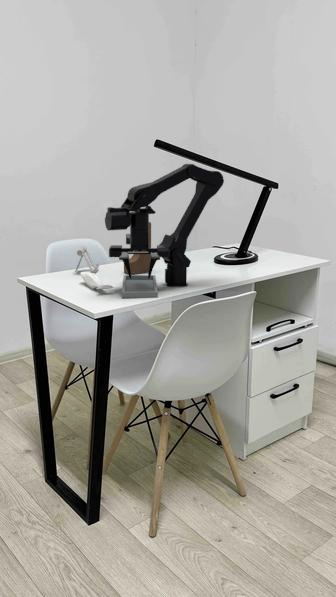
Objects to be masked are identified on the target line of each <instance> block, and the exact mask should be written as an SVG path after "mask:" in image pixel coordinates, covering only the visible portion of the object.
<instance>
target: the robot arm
mask: <svg viewBox="0 0 336 597" xmlns="http://www.w3.org/2000/svg"><path fill="white" fill-rule="evenodd" d="M188 179H190V180H191V181H194V182H195V190H194V195H193V196H192V199H191V201H190V202H189V204H188V206H187V207H186V210H185V211H184V213H183V215H182V217H181V219H180V221H179V223H178V224H177V226H176V227H175V230H174V231H173V232H172V233H171V234H170V235H169V234H165V235H164V236H163V239H162V241H161V242H160V243H159V244H158V245H156V247H151V248H149V222H150V219H149V218H150V215H154V214H156V210H154V209H153V208H152V206H151V205H150V204H151V203H153V202H155V200H156V199H157V198H158V197H159V196H160V195H162V194H163V193H165V192H166V191H169V190H170V189H172V188H174V187H176V186H178V185H180V184H181V183H184V182H185V181H187V180H188ZM224 181H225V179H224V176H223V174H222V173H221V172H220V171H218V170H217V171H216V170H208V169H205V168H202V167H200V166H197V165H195V164H193V163H185V164H183V165H182V166H180V167H178V168H176V169H175V170H172V171H171V172H169V173H167V174H165V175H163V176H161V177H159V178H158V179H155V180H154V181H151V182H147V183H142V184H139V185H136V186H132V187H130V188H129V190H128V192H127V197H126V199H124V202H123V203H122V204H121V206H120V207H112V206H111V207H110V206H109V207H107V208H106V209H107V210H106V214H105V217H104V223H105V224H104V225H105V228H106V230H107V231H123V230H125V231H126V230H127V229H128V228H129V231H130V232H129V233H126V234H125V244H126V245H129V247H123V245H119V244H117V245H116V244H115V245H113V244H112V245H110V246H109V249H108V258H118V259H119V261H122V262H123V265H124V264H125V266H126V269H127V272H128V274H127V275H129V277H130V279H131V268H130V261H129V259H130V255H134V254H151V255H150V263H149V270H148V272H147V275H148V279H149V278H150V275H152V273H153V272H152V271H153V269H154V267H155V265H156V263H157V261H160V260H161V258H162V259H163V262H164V264H165V265H166V268H164V283H165V284H166V286H167V287H173V286H174V287H176V286H177V287H183V286H184V287H187V286H188V282H187V274H188V270H187V269H188V268H189V267H190V266H191V263H192V261H191V259H190V258H189V257H188V256H187V255H186V254H185V253H186V251H187V245H188V238H189V237H190V235H191V232H192V231H193V229H194V227H195V225H196V224H197V222H198V220H199V218H200V216H201V214H202V213H203V211H204V209H205V207H206V205H207V203H209V202H208V201H209V200H210V199H212V197H215V195H217V193H218V192H219V191H220V189H221V188H222V187H223V185H224V183H225V182H224Z"/></svg>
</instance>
